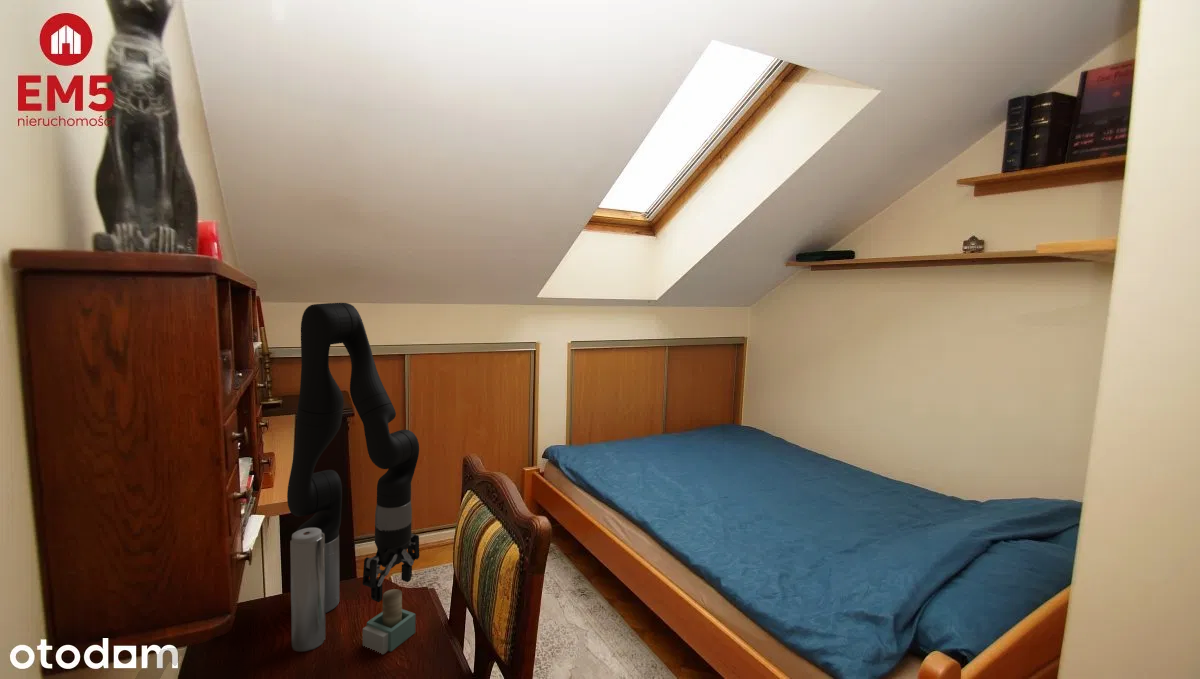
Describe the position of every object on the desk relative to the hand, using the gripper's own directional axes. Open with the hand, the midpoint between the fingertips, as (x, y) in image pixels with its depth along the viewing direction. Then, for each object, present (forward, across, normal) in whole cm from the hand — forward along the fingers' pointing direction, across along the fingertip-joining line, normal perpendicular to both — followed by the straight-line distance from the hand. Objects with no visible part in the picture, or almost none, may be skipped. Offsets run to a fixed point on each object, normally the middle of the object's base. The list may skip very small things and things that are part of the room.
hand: (392, 590), depth 116 cm
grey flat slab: (+11, +5, 0) cm, 12 cm away
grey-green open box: (+11, +1, +1) cm, 11 cm away
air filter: (+11, +10, -14) cm, 20 cm away
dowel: (+10, 0, +1) cm, 10 cm away
